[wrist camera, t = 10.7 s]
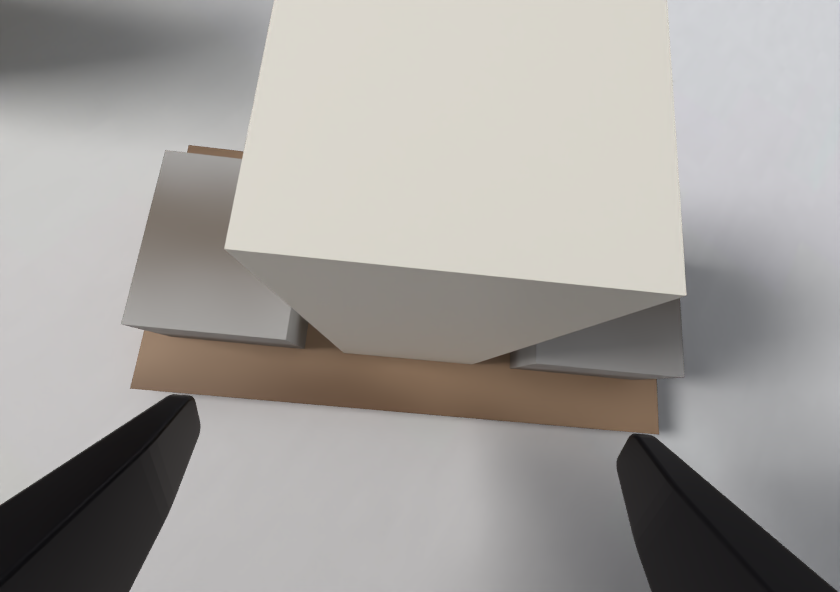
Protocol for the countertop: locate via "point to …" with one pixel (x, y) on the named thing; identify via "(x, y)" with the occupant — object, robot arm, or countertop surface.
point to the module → (462, 171)
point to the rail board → (354, 373)
